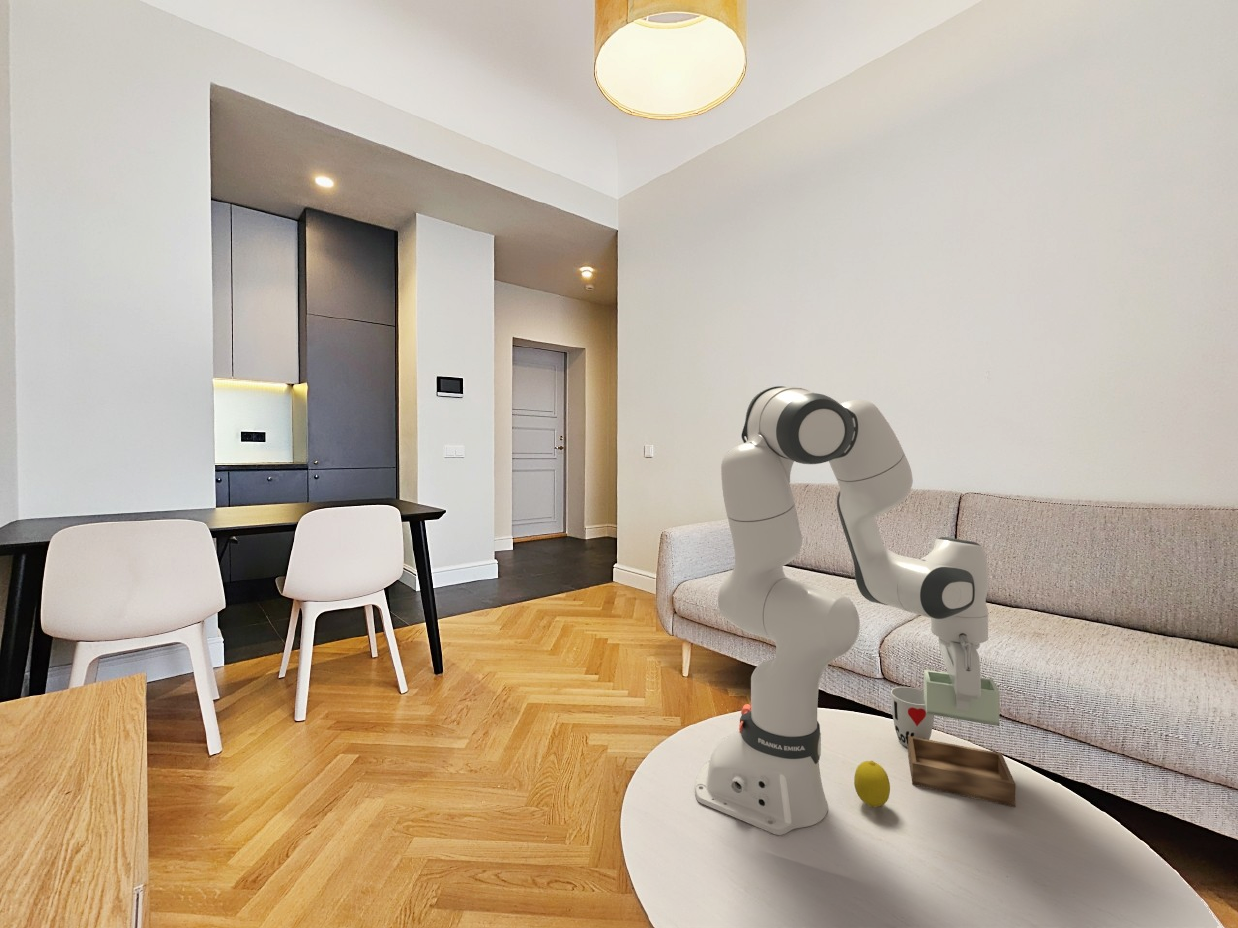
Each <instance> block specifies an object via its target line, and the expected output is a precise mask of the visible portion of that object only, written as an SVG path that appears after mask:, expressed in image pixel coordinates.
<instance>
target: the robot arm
mask: <svg viewBox="0 0 1238 928" xmlns="http://www.w3.org/2000/svg"><path fill="white" fill-rule="evenodd" d="M740 435H741V439H742V442H743V443H741V444H738V445H735V446H734V447H732V448H731V449H730V450H729V451H728V452H727V453H726V454H724V456H723V458H722V460H721V465H720V467H721V468H720V469H721V471H720V472H721V474H720V475H721V487H722V489H721V490H722V495H723V496H722V497H723V503H724V506H725V511H726V512H725V513H726V517H727V520H728V524H729V528H730V529H729V530H730V534H731V539H732V544H733V549H734V566H733V570H732V572H731V573H730V574H729V575H727V576H726V578H725V579H724V580H723V581H722V583H721V585H720V587H719V589H718V594H717V595H718V596H717V607H718V610H719V613H720V615H721V616H722V617H723V619H725V620H726V621H727V622H729V623H731V625H733V626H735V627H737V628H738V629H739V630H741V631H743V632H745V633H748V634H751V635H755V636H757V637H761V638H763V639H767V640H769V641H773V642H774V644H775V649H776V650H775V657H773V658H770V659H767V660H764V661H762V662H761V663H760V664H758V665H757V666H756V667H755V669H754V670H753V672H752V674H751V677H750V704H749V703H746V704H744V705H743V706H742V709H741V711H740V715H741V716H740V718H739V724H738V727H739V728H738V731H736V732H735V733H732V734H730V735H729V736H726V737H724V738H722V739H721V740H720V741H719V742H718V743H717V744H716V746H715V748H714V749H713V751H712V754H711V755H710V759H709V760H708V761H707V762H706V763H704V765H702V767H701V769H700V771H699V772H698V774H697V777H696V780H695V785H694V786H695V787H694V794H695V798H696V800H697V802H699V803H700V804H702V805H704V806H707V807H708V808H711V809H714V810H717V812H720V813H723V814H725V815H728V816H731V817H733V818H736V819H737V820H740V821H743V822H745V823H747V824H749V825H751V826H755V827H757V828H759V829H761V830H764V831H766V832H769V833H771V834H773V835H776V836H783V835H784V834H788V833H789V832H790V831H793V830H794V829H798V828H805V827H810V826H814V825H816V824H818V823H819V822H821V821H822V820H823V819H824V818H825V817H826V815H827V813H828V810H829V805H828V802H827V798H826V795H825V790H824V787H823V782H822V776H821V769H820V758H821V755H822V754H821V753H822V749H821V747H822V736H821V735H822V733H821V726H820V723H819V720H818V706H819V705H818V703H819V702H818V701H819V699H818V698H819V687H820V682H821V678H822V675H823V674H824V671H825V669H826V668H827V667H828V666H829V664H830V663H831V662H832V661H834V660H835V659H837V658H840V657H842V656H844V655H845V654H846V653H848V652H849V651H850V650H851V649H852V648H853V646H854V645H855V643H856V642H857V640H858V637H859V634H860V629H861V623H860V622H861V621H860V617H859V613H858V610H857V608H856V605H855V604H854V602H853V601H852V600H851V599H850V598H849V597H847V596H845V595H843V594H840V593H839V592H837V591H834V590H832V589H830V588H828V587H825V586H823V585H818V584H813V583H809V582H804V581H801V580H796V579H791V578H789V577H788V576H786V574H785V572H784V566H786V565H788V564H789V563H790V562H792V561H794V559H796V558H797V556H798V555H799V553H800V551H801V549H802V545H803V537H802V533H801V532H802V531H801V526H800V523H799V517H798V514H797V508H796V503H795V498H794V496H793V495H794V494H793V490H792V487H791V474H792V473H791V471H792V468H793V465H794V463H799V464H803V465H819V464H823V463H829V464H830V465H829V466H830V468H831V470H832V472H833V474H834V477H835V479H836V481H837V484H838V487H839V492H837V493H838V494H837V497H836V507H837V513H838V516H839V519H840V524H841V527H842V530H843V532H844V535H845V536H844V537H845V538H846V542H847V546H848V548H849V551H850V554H851V558H852V562H853V567H854V577H855V583H856V586H857V589H858V590H859V593H860V594H861V596H863V598H864V599H866V600H867V601H869V602H871V603H874V604H875V603H876V604H879V605H885V606H888V607H889V606H890V607H893V608H896V609H899V610H902V611H905V612H909V613H913V614H916V615H919V616H922V617H924V618H925V617H926V618H930V631H931V634H933V635H934V636H935V637H938V645H939V651H940V654H941V657H942V660H943V662H944V666H945V669H946V671H947V673H948V674H949V677H950V679H951V682H952V685H953V688H954V690H955V693H956V707H957V709H958V710H962V711H968V710H969V700H970V698H975V699H978V698H980V695H981V678H982V677H981V676H982V675H981V661H980V655H979V653H978V649H980V645H981V644H982V643H986V642H987V641H988V640H989V609H988V606H987V601H986V600H987V595H988V592H989V568H988V567H989V566H988V559H987V556H986V555H987V554H986V553H985V552H986V551H985V548H984V547H983V545H981V544H980V543H978V542H976V541H972V540H966V539H960V538H953V537H948V536H946V537H945V536H942V537H937V538H935V541H934V543H933V549H932V550H931V551H930V552H929V553H928V554H927V555H925V556H924V557H921V558H914V557H910V556H906V555H901V554H897V552H893V551H892V550H890V549H888V548H887V547H886V546H885V545H884V542H883V540H882V535H881V532H880V529H879V526H878V522H877V519H876V518H877V517H878V516H881V515H884V514H887V513H888V512H890V511H892V510H894V509H896V507H898V506H900V504H901V503H902V502H904V500H905V499H906V498H907V497H908V495H909V493H910V492H911V490H912V487H913V483H914V482H913V481H914V480H913V473H912V468H911V464H910V463H909V460H908V457H907V456H906V454H905V452H904V449H903V447H902V445H901V443H900V440H899V439H898V437H897V436H896V433H895V431H894V430H893V428H892V426H891V424H890V423H889V422H888V421H887V419H886V418H885V416H884V414H883V413H882V412H881V410H880V409H879V408H878V407H877V406H876V405H875V403H872V402H871V401H869V400H865V399H851V400H846V401H843V402H841V403H840V402H838V401H837V400H835V399H834V398H832V397H830V396H828V395H825V394H822V393H815V392H814V391H813V392H812V391H810V390H807V389H805V388H802V387H795V386H792V387H791V386H790V387H789V386H783V385H782V386H780V385H779V386H778V385H777V386H772V387H768V388H766V389H764V390H762V391H760V392H759V393H757V394H756V395H755V396H754V397H753V398H752V399H751V401H750V403H749V404H748V407H747V409H746V414H745V421H744V425H743V428H742V431H741V434H740Z"/></svg>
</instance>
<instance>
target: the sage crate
mask: <svg viewBox="0 0 1238 928" xmlns="http://www.w3.org/2000/svg"><path fill="white" fill-rule="evenodd" d="M995 683H996V682H995V681H994V679H992V678H987V677H986V678H984V677H981V695H980V698H978V699H975V698H970V700H969V710H968V711H962V710H958V709H957V707H956V693H955V690H954V688H953V685H952V682H951V679H950V677H949V674H948V672H943V671H936V670H929V669H924V670H923V691H924V703H925V707H926V712H927V714H931V715H934V716H938V717H943V718H949V719H955V720H961V721H965V722H972V723H973V722H974V723H978V724H984V725H990V726H996V727H999V726H1000V691H999V688H998V687H997V685H996V684H995Z"/></svg>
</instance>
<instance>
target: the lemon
mask: <svg viewBox="0 0 1238 928" xmlns="http://www.w3.org/2000/svg"><path fill="white" fill-rule="evenodd" d="M853 779H854V782H853V783H854V789H855V793H856V795H857V796H858V797H859V800H861V802H862V803H864V804H866V805H868V806H869V807H870V808H871V809H874V808H879V807H882V806H884V805H885V804H886V803H887V802H888V801H889V797H890V795H891V794H890V793H891V783H890V779H889V776H888V774H887V772H886V770H885V769H884V767H883V766H881V765H880V764H879V763H877V762H875V761H874V760H866V761H863V762H861V763H859V764H858V766H857V767H856V769H855V773H854V778H853Z"/></svg>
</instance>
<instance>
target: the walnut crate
mask: <svg viewBox="0 0 1238 928" xmlns="http://www.w3.org/2000/svg"><path fill="white" fill-rule="evenodd" d="M907 749H908V750H907V756H908V764H909V771H910V777H911V784H912V785H913V786H917V787H922V788H927V789H931V790H936V791H939V792H944V793H949V794H954V795H959V796H963V797H967V798H971V799H976V800H981V801H985V802H989V803H993V804H999V805H1005V806H1007V807H1012V808H1013V807H1014V808H1016V791H1017V789H1016V788H1017V787H1016V782H1015V780H1014V777H1013V776H1012V774H1011V771H1010V769H1009V767H1008V764H1007V762H1006V760H1005V758H1004V755H1003V753H1002V752H997V751H991V750H986V749H981V748H975V747H970V746H964V745H960V744H959V745H958V744H953V743H948V742H942V741H936V740H933V739H929V740H928V739H922V738H917V737H912V736H908V747H907Z"/></svg>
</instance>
